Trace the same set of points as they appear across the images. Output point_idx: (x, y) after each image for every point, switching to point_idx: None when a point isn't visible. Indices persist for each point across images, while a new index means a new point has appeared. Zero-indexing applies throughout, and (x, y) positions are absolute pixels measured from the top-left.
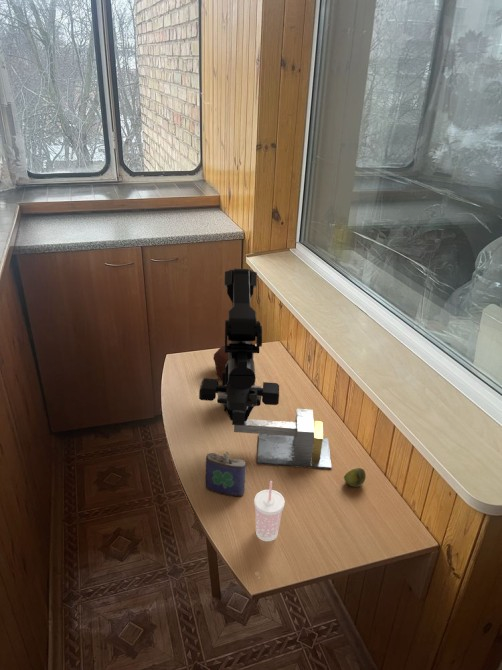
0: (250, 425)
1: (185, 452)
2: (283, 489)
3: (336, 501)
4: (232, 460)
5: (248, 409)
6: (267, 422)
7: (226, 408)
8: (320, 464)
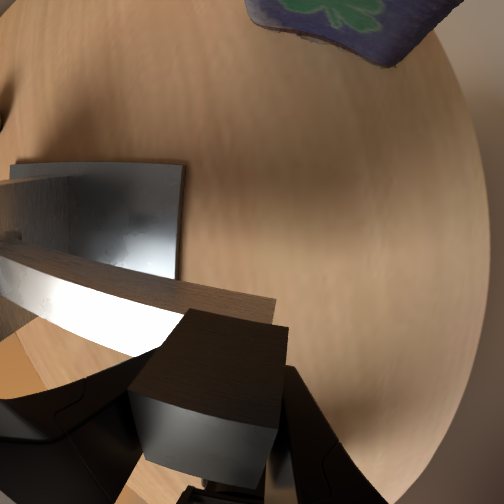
0: (147, 305)
1: (465, 255)
2: (118, 54)
3: (31, 59)
4: None
5: (73, 408)
6: (66, 315)
7: (352, 471)
8: (23, 172)
